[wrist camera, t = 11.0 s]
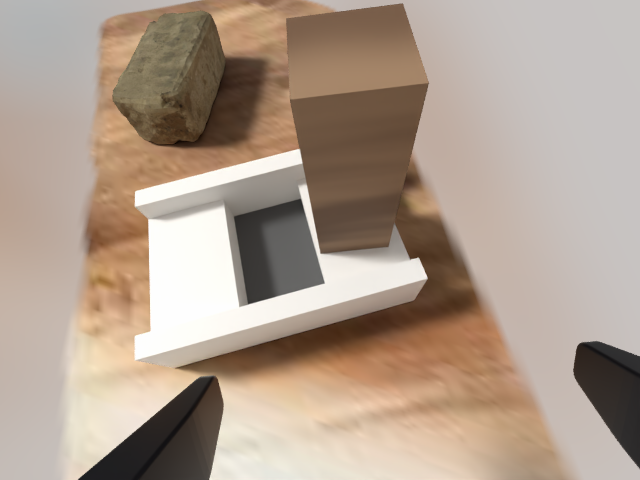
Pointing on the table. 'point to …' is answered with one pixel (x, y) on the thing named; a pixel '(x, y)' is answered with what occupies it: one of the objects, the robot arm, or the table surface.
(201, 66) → the stone block
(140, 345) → the walled channel
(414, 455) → the table surface
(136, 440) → the robot arm
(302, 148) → the walnut block
